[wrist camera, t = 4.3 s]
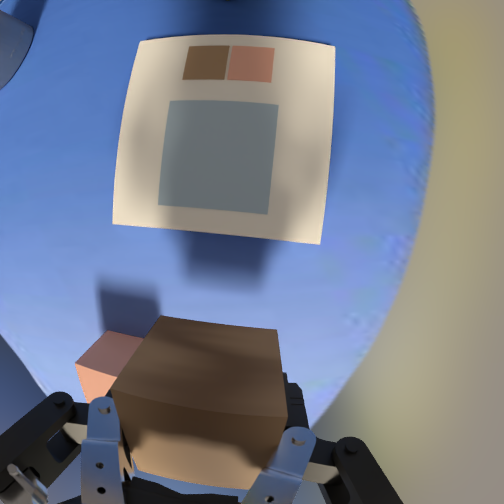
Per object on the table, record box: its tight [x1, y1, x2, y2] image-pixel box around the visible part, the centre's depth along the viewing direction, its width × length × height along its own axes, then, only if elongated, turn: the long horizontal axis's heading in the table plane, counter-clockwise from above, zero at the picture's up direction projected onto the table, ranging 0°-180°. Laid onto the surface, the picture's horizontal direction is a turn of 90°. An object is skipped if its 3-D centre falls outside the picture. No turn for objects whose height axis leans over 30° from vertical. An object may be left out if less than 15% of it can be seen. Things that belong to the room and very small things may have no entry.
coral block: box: [75, 330, 144, 403], centre depth 18 cm, size 6×6×6 cm
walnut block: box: [110, 315, 288, 489], centre depth 10 cm, size 6×6×6 cm
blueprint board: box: [113, 34, 335, 245], centre depth 16 cm, size 14×14×1 cm
